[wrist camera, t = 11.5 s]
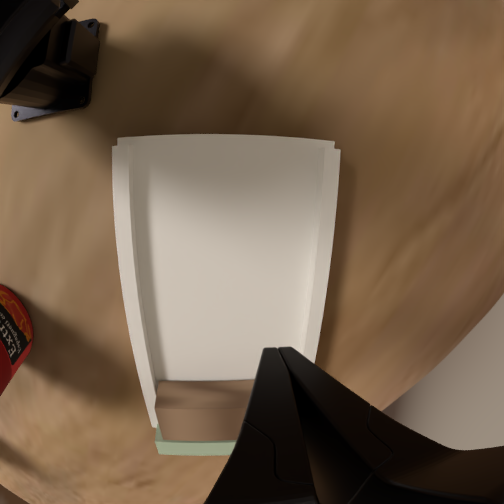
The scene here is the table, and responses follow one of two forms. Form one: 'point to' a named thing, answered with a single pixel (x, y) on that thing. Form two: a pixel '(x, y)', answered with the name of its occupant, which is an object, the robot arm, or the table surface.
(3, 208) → the table surface
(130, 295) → the track
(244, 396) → the block
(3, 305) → the canned food
